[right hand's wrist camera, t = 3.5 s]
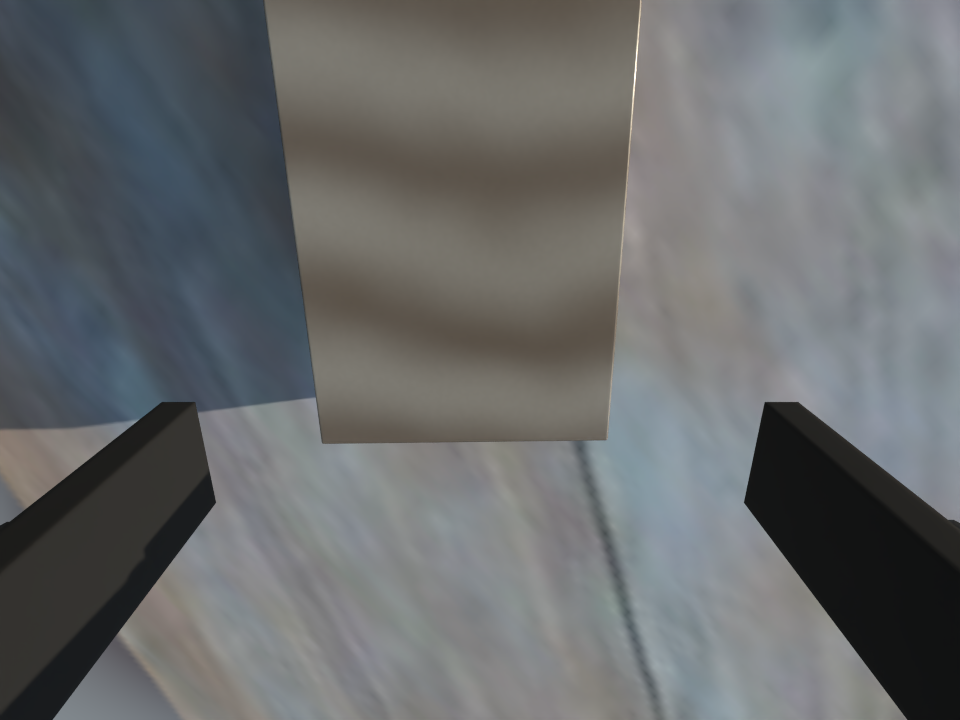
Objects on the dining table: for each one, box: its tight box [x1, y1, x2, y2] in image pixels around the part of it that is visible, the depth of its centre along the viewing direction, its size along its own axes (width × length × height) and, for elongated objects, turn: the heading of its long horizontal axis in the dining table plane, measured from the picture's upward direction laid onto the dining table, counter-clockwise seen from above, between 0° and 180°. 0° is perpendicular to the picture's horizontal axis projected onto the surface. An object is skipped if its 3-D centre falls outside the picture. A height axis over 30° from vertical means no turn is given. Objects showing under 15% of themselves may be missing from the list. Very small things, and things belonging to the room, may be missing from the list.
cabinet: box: [263, 0, 642, 444], centre depth 21 cm, size 21×11×8 cm, turn 1°
